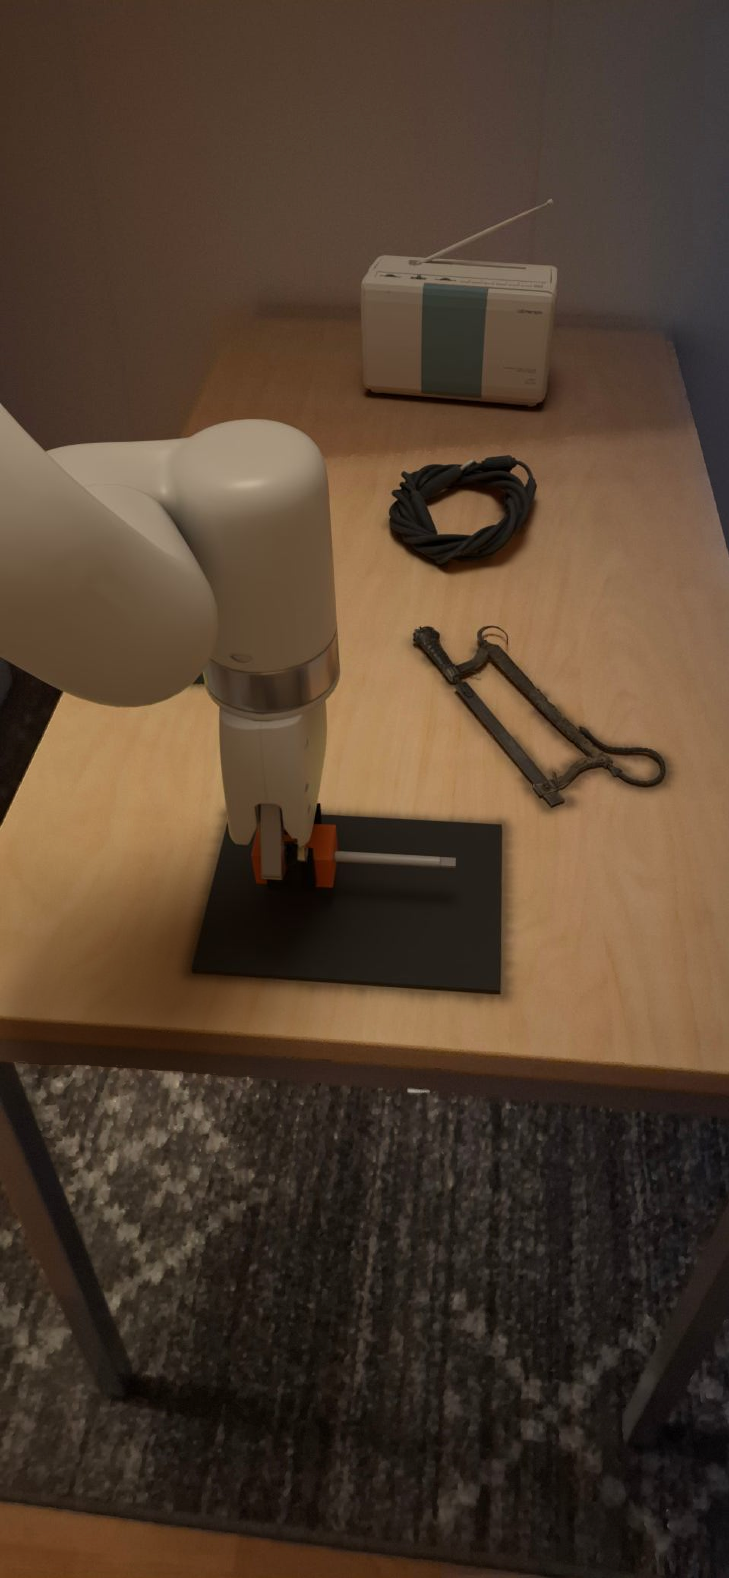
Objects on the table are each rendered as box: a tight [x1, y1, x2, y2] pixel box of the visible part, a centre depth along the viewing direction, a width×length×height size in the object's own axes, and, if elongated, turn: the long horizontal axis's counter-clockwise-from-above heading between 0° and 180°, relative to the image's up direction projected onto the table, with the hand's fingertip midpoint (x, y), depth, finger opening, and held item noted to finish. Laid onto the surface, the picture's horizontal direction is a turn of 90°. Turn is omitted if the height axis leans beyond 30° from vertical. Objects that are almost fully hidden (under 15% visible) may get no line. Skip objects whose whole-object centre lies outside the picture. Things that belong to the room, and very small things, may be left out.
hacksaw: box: [412, 625, 667, 806], centre depth 84 cm, size 24×10×2 cm, turn 26°
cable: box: [388, 454, 538, 565], centre depth 101 cm, size 17×14×4 cm
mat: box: [190, 813, 503, 994], centre depth 72 cm, size 20×14×1 cm
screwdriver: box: [251, 824, 456, 888], centre depth 69 cm, size 13×3×3 cm, turn 85°
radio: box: [360, 198, 558, 408], centre depth 114 cm, size 21×8×20 cm, turn 77°
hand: (296, 863), depth 70 cm, fingers closed on screwdriver, 3 cm apart
